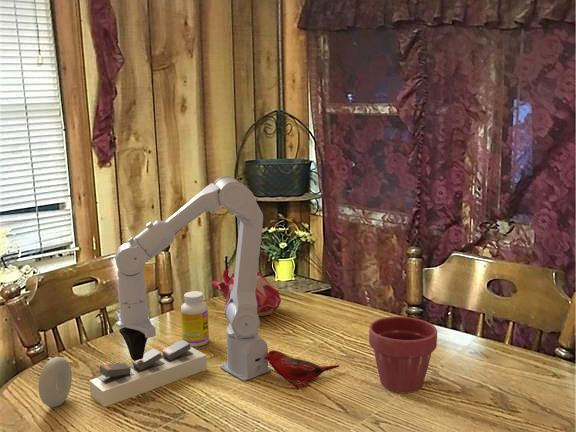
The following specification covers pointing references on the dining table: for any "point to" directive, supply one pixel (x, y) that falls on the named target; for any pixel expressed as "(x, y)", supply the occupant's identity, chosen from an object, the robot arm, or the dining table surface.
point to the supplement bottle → (194, 319)
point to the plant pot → (402, 351)
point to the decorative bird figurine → (295, 368)
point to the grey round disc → (55, 381)
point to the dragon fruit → (264, 293)
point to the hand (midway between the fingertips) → (137, 358)
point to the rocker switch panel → (147, 377)
